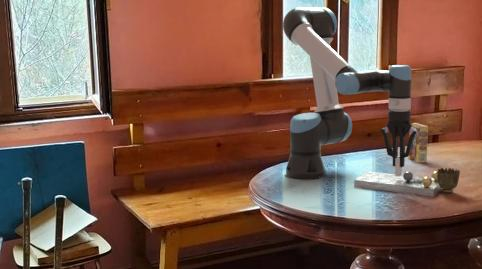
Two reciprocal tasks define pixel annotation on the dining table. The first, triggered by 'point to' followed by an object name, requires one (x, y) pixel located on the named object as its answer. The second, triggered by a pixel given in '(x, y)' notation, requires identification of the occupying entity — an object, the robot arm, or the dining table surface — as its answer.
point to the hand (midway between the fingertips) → (398, 175)
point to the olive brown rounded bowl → (448, 179)
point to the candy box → (419, 143)
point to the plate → (396, 184)
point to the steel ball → (408, 176)
